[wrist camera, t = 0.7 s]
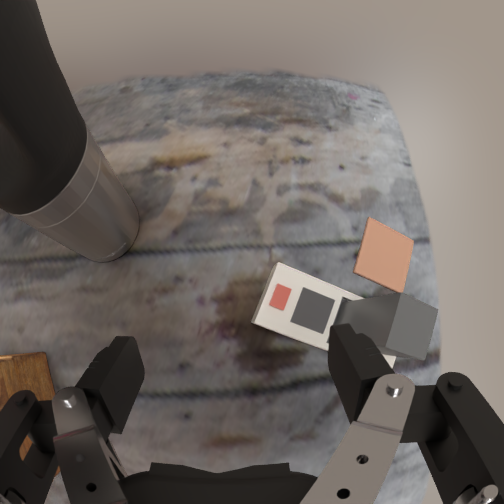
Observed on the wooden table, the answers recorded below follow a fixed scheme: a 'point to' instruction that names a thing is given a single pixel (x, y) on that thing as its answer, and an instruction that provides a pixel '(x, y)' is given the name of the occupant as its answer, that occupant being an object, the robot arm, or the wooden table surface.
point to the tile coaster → (384, 256)
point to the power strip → (301, 307)
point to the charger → (392, 323)
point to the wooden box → (25, 382)
